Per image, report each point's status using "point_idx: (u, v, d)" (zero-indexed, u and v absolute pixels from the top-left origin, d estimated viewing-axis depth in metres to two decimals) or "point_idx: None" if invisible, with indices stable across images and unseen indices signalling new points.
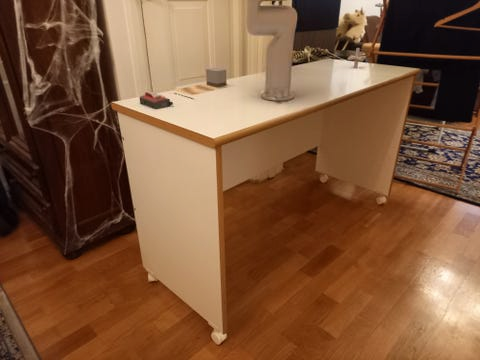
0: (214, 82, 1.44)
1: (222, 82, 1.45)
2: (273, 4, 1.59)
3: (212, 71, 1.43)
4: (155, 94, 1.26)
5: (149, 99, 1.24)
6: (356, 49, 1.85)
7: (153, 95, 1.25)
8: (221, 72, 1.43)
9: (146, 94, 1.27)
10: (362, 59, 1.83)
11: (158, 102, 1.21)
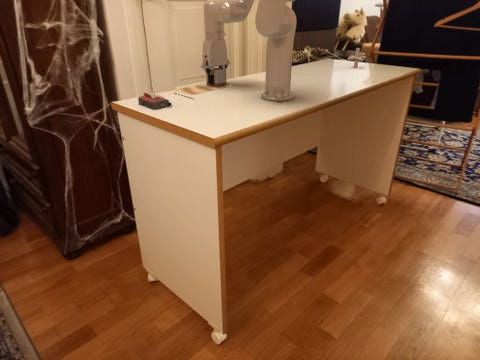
0: (214, 82, 1.44)
1: (222, 82, 1.45)
2: (209, 83, 1.47)
3: None
4: (154, 95, 1.25)
5: (148, 100, 1.23)
6: (356, 49, 1.85)
7: (152, 96, 1.24)
8: (221, 72, 1.43)
9: (145, 95, 1.27)
10: (362, 59, 1.83)
11: (157, 103, 1.21)
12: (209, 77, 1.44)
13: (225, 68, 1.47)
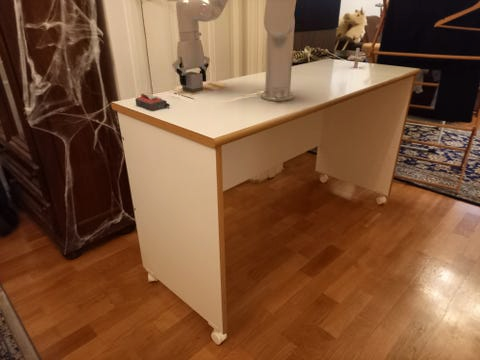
0: (189, 87, 1.37)
1: (198, 87, 1.37)
2: (181, 84, 1.37)
3: (187, 75, 1.35)
4: (151, 96, 1.24)
5: (145, 101, 1.22)
6: (356, 49, 1.85)
7: (149, 97, 1.23)
8: (196, 76, 1.35)
9: (142, 96, 1.25)
10: (362, 59, 1.83)
11: (155, 104, 1.19)
12: (181, 78, 1.34)
13: (206, 66, 1.40)
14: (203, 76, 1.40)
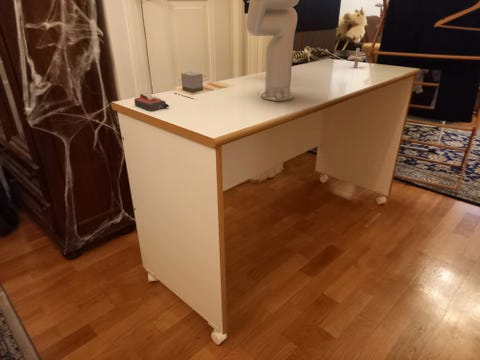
0: (189, 87, 1.37)
1: (198, 87, 1.37)
2: (245, 13, 1.46)
3: (187, 75, 1.35)
4: (150, 96, 1.23)
5: (144, 101, 1.21)
6: (356, 49, 1.85)
7: (148, 97, 1.22)
8: (196, 76, 1.35)
9: (141, 96, 1.25)
10: (362, 59, 1.83)
11: (154, 104, 1.19)
12: (246, 6, 1.43)
13: None
14: None
